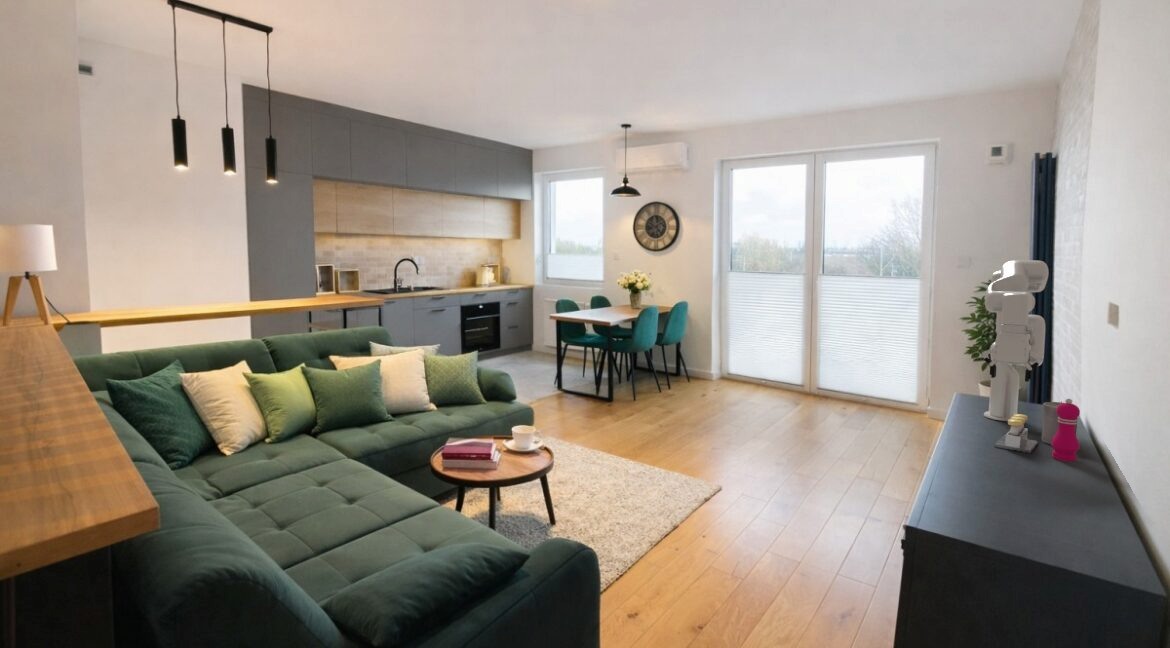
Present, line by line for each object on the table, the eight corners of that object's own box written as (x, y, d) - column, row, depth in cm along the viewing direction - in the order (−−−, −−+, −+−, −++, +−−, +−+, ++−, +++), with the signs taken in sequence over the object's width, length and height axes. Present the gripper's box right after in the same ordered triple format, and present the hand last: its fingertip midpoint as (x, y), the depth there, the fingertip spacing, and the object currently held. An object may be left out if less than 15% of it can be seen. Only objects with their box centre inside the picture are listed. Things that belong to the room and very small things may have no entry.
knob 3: (1013, 428, 219) (1014, 413, 218) (1027, 430, 216) (1028, 415, 216) (1011, 431, 216) (1012, 415, 216) (1025, 433, 213) (1026, 417, 213)
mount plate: (1003, 438, 222) (1004, 424, 221) (1037, 443, 215) (1038, 430, 214) (994, 446, 212) (995, 433, 211) (1029, 453, 205) (1030, 438, 204)
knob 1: (1008, 434, 213) (1009, 418, 212) (1022, 436, 210) (1023, 420, 209) (1006, 436, 210) (1007, 420, 209) (1020, 439, 207) (1021, 423, 206)
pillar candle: (1076, 442, 216) (1079, 400, 215) (1074, 448, 209) (1077, 405, 208) (1042, 437, 223) (1045, 396, 221) (1039, 443, 216) (1041, 401, 214)
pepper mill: (1068, 455, 203) (1073, 396, 201) (1083, 462, 196) (1089, 401, 194) (1045, 454, 204) (1049, 396, 201) (1059, 461, 197) (1064, 401, 194)
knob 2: (1011, 431, 216) (1012, 415, 215) (1024, 433, 213) (1026, 418, 212) (1008, 433, 213) (1009, 418, 212) (1022, 436, 210) (1023, 420, 210)
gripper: (1047, 330, 203) (1043, 381, 205) (986, 326, 215) (983, 374, 217) (1042, 332, 198) (1038, 384, 200) (980, 328, 210) (977, 377, 212)
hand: (1009, 379), depth 208 cm, fingers open, 9 cm apart
